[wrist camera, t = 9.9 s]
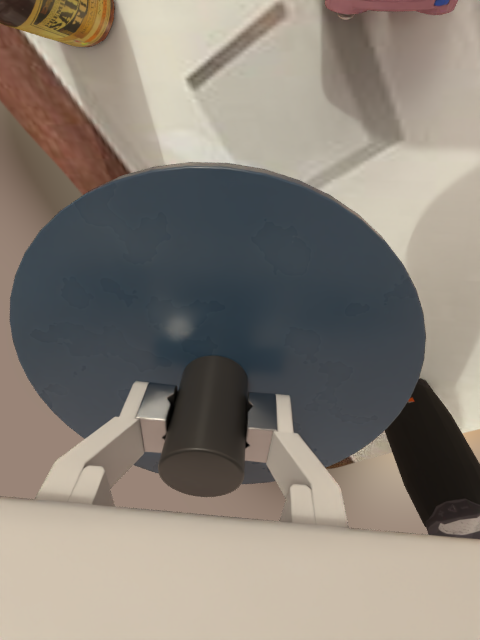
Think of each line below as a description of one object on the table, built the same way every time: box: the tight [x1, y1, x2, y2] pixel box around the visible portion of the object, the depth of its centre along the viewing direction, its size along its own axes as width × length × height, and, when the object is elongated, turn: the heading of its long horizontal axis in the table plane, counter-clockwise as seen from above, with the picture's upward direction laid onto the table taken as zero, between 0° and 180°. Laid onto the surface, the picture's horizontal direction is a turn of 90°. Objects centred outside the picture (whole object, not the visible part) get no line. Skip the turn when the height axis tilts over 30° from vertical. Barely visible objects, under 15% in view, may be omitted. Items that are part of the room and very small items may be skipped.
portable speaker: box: [385, 379, 480, 539], centre depth 44 cm, size 9×9×20 cm
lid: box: [10, 162, 426, 497], centre depth 12 cm, size 16×16×5 cm
